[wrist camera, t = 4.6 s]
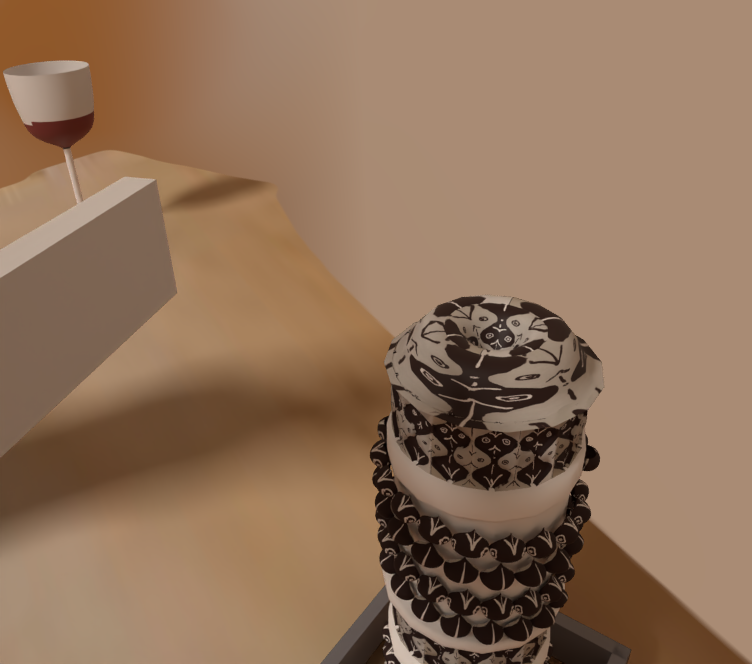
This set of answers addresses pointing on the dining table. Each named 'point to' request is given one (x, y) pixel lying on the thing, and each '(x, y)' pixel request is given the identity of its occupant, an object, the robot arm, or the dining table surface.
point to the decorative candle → (482, 480)
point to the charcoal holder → (569, 638)
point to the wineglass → (54, 104)
